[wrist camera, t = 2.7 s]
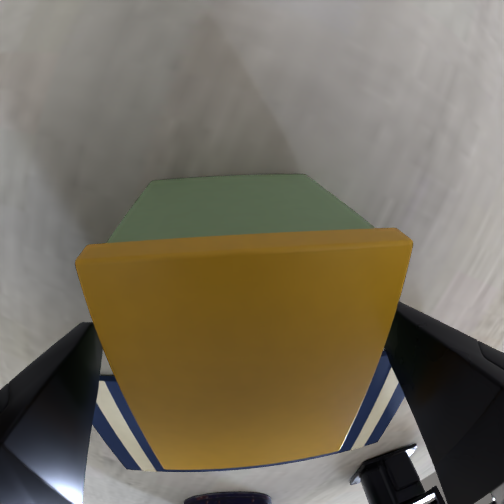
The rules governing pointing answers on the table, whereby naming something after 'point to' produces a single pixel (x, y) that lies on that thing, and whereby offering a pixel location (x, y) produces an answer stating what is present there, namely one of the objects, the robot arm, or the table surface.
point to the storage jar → (230, 498)
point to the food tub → (243, 316)
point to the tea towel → (143, 458)
